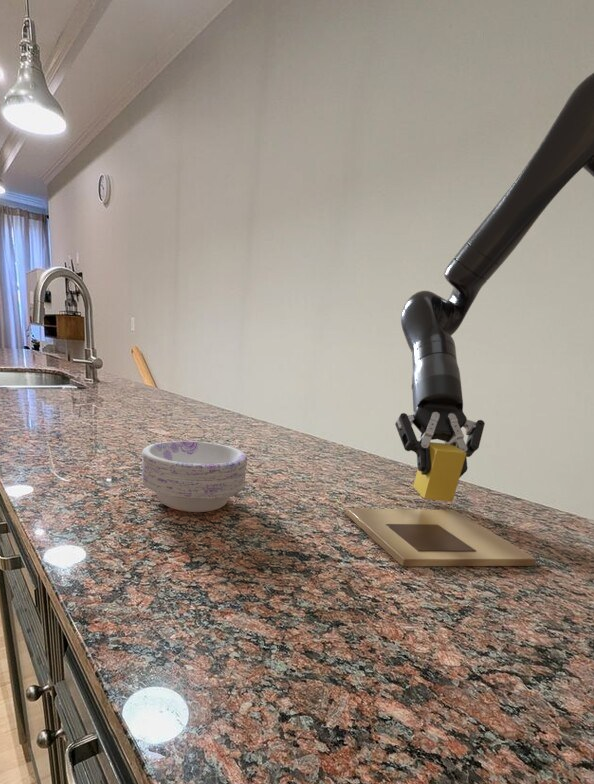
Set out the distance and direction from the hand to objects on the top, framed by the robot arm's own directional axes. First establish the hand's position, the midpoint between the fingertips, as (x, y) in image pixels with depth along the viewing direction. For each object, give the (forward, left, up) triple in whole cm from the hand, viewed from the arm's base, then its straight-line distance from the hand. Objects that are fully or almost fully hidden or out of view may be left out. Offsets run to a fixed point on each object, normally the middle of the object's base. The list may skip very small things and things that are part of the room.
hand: (442, 473), depth 71 cm
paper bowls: (+40, -1, -6) cm, 40 cm away
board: (+8, +11, -6) cm, 15 cm away
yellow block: (0, -2, -4) cm, 5 cm away
